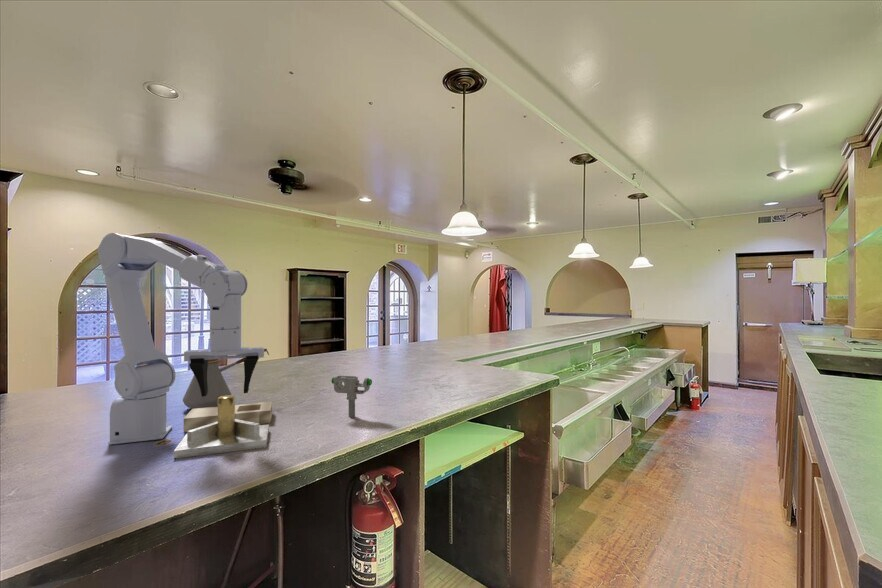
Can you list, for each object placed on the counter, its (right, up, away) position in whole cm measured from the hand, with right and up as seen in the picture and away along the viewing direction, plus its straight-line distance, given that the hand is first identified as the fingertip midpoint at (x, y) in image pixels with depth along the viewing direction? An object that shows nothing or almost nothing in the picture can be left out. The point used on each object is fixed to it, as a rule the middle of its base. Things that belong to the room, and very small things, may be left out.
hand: (225, 393), depth 82 cm
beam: (-6, -10, +14) cm, 18 cm away
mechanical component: (+22, -11, +18) cm, 30 cm away
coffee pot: (-15, -11, +29) cm, 34 cm away
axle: (0, -9, +1) cm, 9 cm away
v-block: (0, -10, 0) cm, 10 cm away
